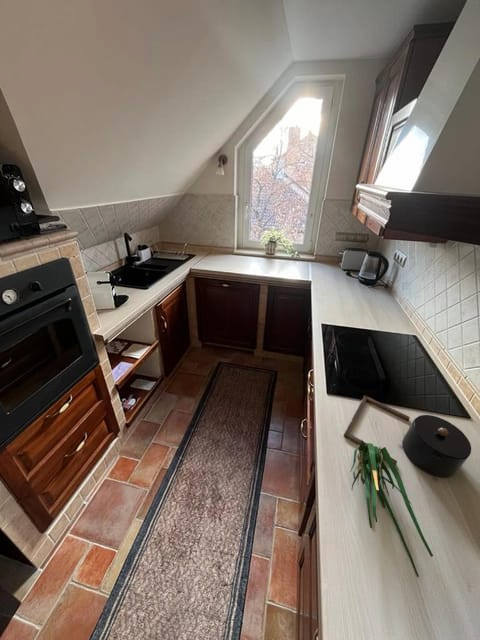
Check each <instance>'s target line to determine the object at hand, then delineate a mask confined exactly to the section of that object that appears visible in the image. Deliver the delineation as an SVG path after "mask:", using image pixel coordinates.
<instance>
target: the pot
mask: <svg viewBox="0 0 480 640" xmlns="http://www.w3.org/2000/svg"><path fill="white" fill-rule="evenodd" d="M401 444H402V445H401V447H402V449H403V452H404V454H405V455H406V457H407V459H409V461H410V462H411V463H412V464H413V465H414V466H416V468H418V469H420V471H423V472H424V473H426V474H428V475H430V476H433V477H435V478H440V479H449V478H451V477H453V476H455V474H456V473H457V472H458V471H459V470H460V468H461V467H462V465H464V464H465V462H466V461H467V460H468V458H469V457H470V456H471V454H472V445H471V442H470V440H469V438H468V437H467V436H466V435H465V433H464V432H463V431H462V430H460V429H459V428H458V427H457V426H456V425H455V424H453V423H452V422H449V420H446V419H444V418H441V417H438V416H437V415H433V414H432V415H431V414H421V415H419V416H417V417H415V418H414V419H413V420H412V422H411V425H409V428H408V429H407V431H406V433H405V435H404V436H403V439H402V442H401Z"/></svg>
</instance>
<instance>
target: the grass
mask: <svg viewBox="0 0 480 640" xmlns="http://www.w3.org/2000/svg"><path fill="white" fill-rule="evenodd" d="M361 440H362V441H361V443H360V445H358V444H357V448H355V449H354V453H353V463H352V466H351V468H350V471H349V473H350V472H351V473H352V471H353V468H354V466H355V465H356V462H357V461H358V464H357V465H356V466H355V469H354V471H353V473H352V475H353V476H352V477H353V482H352V484H351V490H353V489H354V485H355V484H356V481H357V485H358V486H360V482H361V483H362V485H364V488H365V500H366V507H367V508H366V509H367V516H368V523H369V528H370V529H373V523H372V518H374V519H375V520H374V521H375V523H378V516H377V515H378V514H377V498H378V497H379V500H380V503H381V505H382V508H383V509H387V512H388V513H389V516H390V517H391V520H392V522H393V524H394V526H395V528H396V530H397V533H398V535H399V537H400V540H401V542H402V545H403V547H404V549H405V551H406V553H407V556H408V558H409V560H410V563H411V565H412V568H413V570H414V572H415V575H416V577H417V578H419V577H420V576H419V572H418V570H417V567H416V564H415V562H414V559H413V557H412V554H411V552H410V549H409V547H408V545H407V542H406V540H405V537H404V535H403V533H402V530H401V528H400V525H399V523H398V521H397V519H396V516H395V514H394V512H393V510H392V507H391V505H390V502H389V499H388V498H387V496H388V497H390V492H389V489H388V487H387V484H386V482H388V483H389V484H390V485H391V488H392V489H391V490H393V489H394V488H395V489H397V491H398V492H399V493H400V494H401V496H402V499H403V502H404V503H405V506H406V509H407V512H408V513H409V515H410V517H411V520H412V522H413V524H414V526H415V529H416V532H417V533H418V535H419V537H420V539H421V541H422V543H423V545H424V547H425V549H426V550H427V553H428V554H429V556H430V558H432V557H434V554H433V551H431V548H430V547H429V546H430V545H429V544H428V542H427V541H426V539H425V536H424V534H423V532H422V530H421V527H420V524H419V522H418V519H417V517H416V515H415V513H414V512H415V511H414V507H413V506H412V502H411V501H410V500H409V497H408V494H407V491H406V488H405V485H404V482H403V479H402V477H401V475H400V472H399V470H398V468H397V467H396V466H397V465H396V466H395V464H394V463H393V461H392V459H391V458H392V457H391V455H390V453H389V451H388V449H387V447H386V446H384V447H382V446H380V447H379V446H375V445H374V443H371V442H370V443H369V442H365V441H364V440H363V439H361ZM364 442H365V443H367V446H366V447H365V443H364ZM379 451H380V453H379ZM382 455H383V457H384V458H385V460H386V461H385V460H383V459H382ZM356 460H357V461H356ZM384 461H385V462H386V463H385V462H384ZM388 467H389V468H388ZM356 470H357V472H356ZM390 471H391V472H392V475H393V476H394V479H395V481H396V483H397V484H396V485H395V482H394V480H393V477H392V475H391V472H390ZM384 473H385V474H386V476H387V477H385V476H384ZM360 480H361V481H360ZM397 486H398V487H397ZM384 490H385V491H386V493H387V496H386V494H385V492H384ZM370 496H371V498H370ZM371 503H372V504H371ZM371 506H372V514H371Z"/></svg>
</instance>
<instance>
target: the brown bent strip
mask: <svg viewBox="0 0 480 640" xmlns="http://www.w3.org/2000/svg"><path fill="white" fill-rule="evenodd" d="M366 402H368V403H369V404H372V405H374V406H375V407H378V408H380V409H382V410H384V411H386V412H388V413H390V414H392V415H394V416H397V417H399V418H400V419H403V420H404V421H407V422H409V421H410V416H409V415H406V414H405V413H403V412H401V411H398V410H396V409H394V408H392V407H390V406H388V405H386V404H384V403H382V402H380V401H377V400H375V399H374V398H371V397H369V396H367V395H363V398H362V399H361V401H360V402H359V405H358V407H357V409H356V411H355V413H354V415H353V416H352V418H351V421H350V422H349V424H348V425H347V428H346V429H345V432H344V433H343V437H344V438H346V439H348V440H350V441H351V442H353V443H354V444H356V445H357V446H358V445H359V446H360V443H361V441H362V440H363V439H360V438H359V437H357V436H355V435H353V434H351V433H352V430H353V428H354V425H355V424H356V422H357V419H358V418H359V416H360V414H361V413H362V410H363V408H364V406H365V404H366ZM364 443H365V447H366V446H367V443H368V442H365V441H364ZM379 453H380V451H379ZM391 459H392V461H393V463H394V464H395V466H397V463H398V460H397V459H395V458H393V457H391ZM382 460H383V461H385V462H386V460H385V458H384V457H383V455H382Z"/></svg>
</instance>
